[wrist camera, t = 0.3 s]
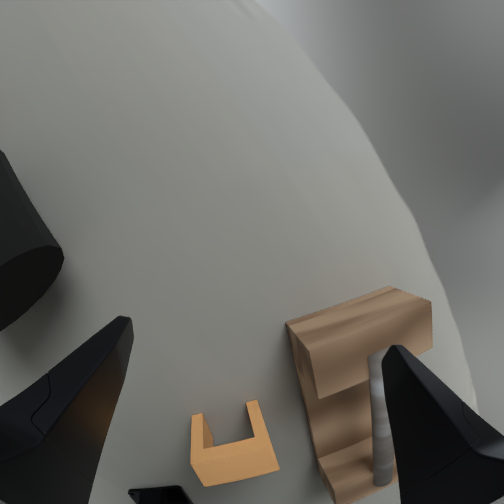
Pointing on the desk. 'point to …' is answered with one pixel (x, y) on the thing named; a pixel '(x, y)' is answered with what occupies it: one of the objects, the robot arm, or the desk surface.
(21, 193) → the black cylinder
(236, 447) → the tan u-shaped bracket
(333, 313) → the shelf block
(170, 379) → the desk surface
